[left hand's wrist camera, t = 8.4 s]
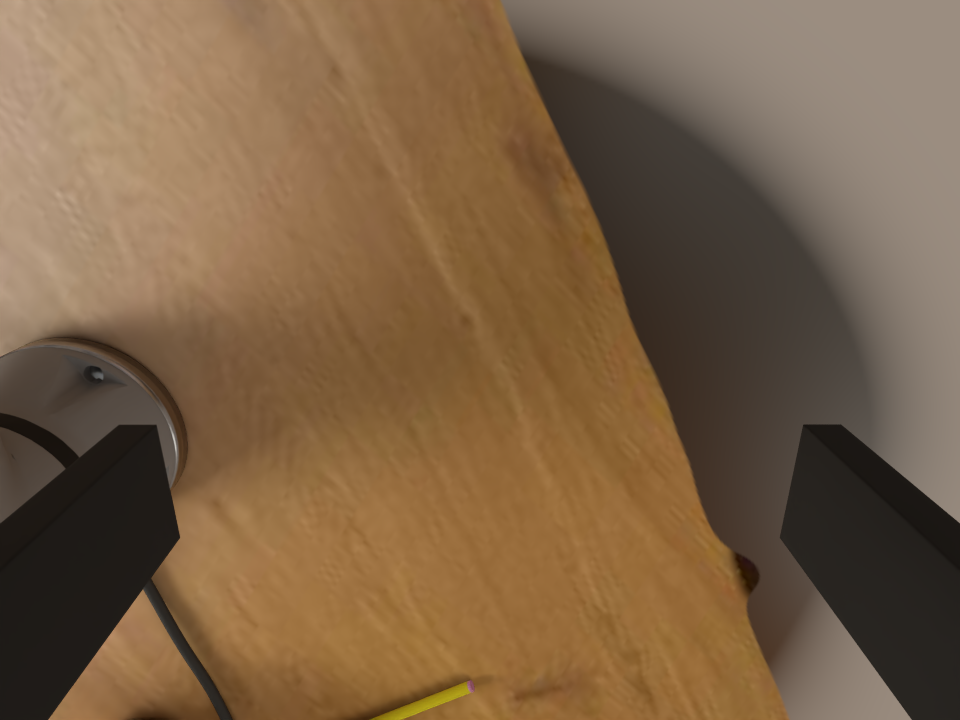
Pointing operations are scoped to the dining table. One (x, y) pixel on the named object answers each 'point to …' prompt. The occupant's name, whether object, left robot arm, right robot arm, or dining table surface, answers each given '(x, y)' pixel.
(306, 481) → the dining table surface
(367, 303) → the dining table surface
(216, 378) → the dining table surface
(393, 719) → the pencil
